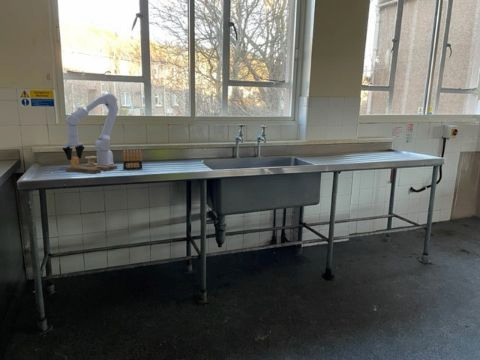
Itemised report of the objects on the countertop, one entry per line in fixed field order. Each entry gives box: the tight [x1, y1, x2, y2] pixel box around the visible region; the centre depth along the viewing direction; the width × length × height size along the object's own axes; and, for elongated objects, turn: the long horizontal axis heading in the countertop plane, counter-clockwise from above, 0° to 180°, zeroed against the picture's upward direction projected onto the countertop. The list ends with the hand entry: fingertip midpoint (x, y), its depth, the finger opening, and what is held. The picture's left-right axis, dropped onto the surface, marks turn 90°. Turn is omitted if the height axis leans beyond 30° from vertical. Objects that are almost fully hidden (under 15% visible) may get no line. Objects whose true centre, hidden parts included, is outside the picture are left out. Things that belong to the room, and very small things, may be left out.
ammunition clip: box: [122, 148, 143, 171], centre depth 209 cm, size 11×2×12 cm, turn 110°
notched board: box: [65, 162, 118, 175], centre depth 205 cm, size 18×20×2 cm
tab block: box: [70, 156, 80, 167], centre depth 213 cm, size 3×3×6 cm
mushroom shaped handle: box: [84, 155, 97, 166], centre depth 208 cm, size 6×6×5 cm
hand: (74, 159), depth 213 cm, fingers open, 7 cm apart
